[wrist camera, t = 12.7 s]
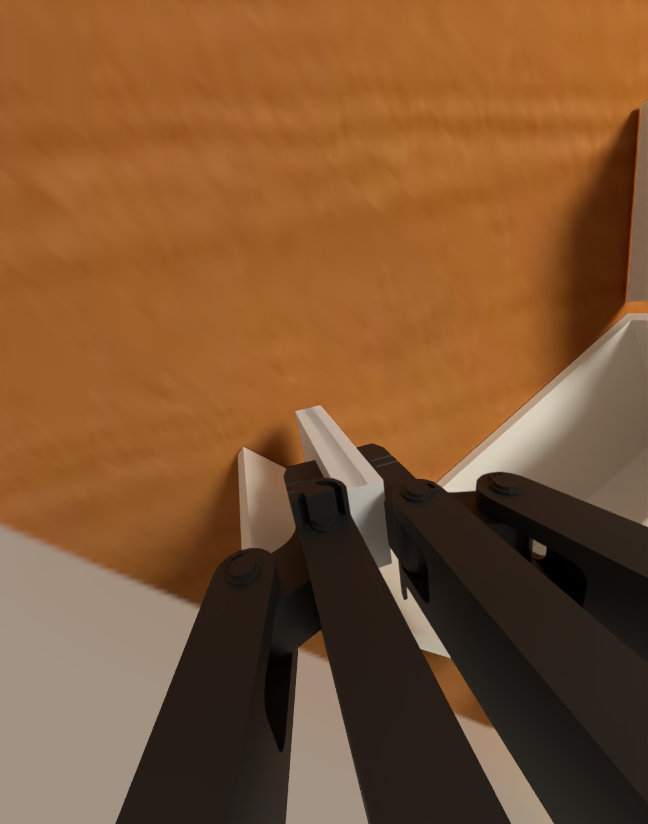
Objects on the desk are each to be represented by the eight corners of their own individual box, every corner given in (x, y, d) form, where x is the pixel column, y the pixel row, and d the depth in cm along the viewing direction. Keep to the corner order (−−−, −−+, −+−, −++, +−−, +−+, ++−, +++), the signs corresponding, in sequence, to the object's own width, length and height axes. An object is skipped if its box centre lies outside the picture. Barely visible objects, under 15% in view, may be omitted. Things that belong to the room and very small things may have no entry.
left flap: (237, 455, 16) (243, 595, 8) (243, 446, 16) (253, 580, 8) (379, 524, 19) (475, 665, 12) (384, 517, 19) (484, 655, 12)
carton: (628, 312, 20) (911, 316, 12) (661, 429, 24) (884, 492, 16) (387, 525, 20) (499, 681, 12) (464, 604, 24) (584, 757, 16)
